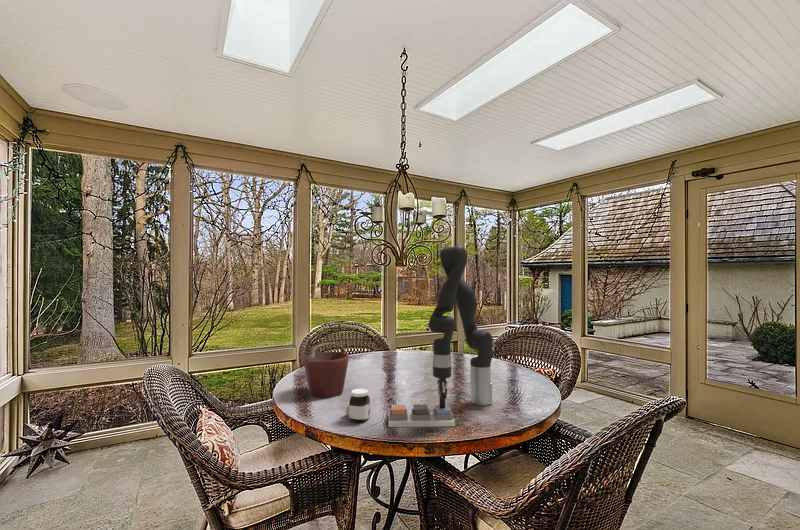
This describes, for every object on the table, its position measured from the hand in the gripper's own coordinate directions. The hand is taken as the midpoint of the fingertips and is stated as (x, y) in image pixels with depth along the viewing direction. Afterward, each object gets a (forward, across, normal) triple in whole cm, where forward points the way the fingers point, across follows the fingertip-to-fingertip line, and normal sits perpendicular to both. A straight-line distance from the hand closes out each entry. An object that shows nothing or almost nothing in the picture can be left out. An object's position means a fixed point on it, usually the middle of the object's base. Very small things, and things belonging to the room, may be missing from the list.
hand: (442, 407), depth 156 cm
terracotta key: (+2, 0, +18) cm, 18 cm away
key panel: (+6, 0, +9) cm, 10 cm away
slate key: (+2, 0, 0) cm, 2 cm away
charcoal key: (+2, 0, +9) cm, 9 cm away
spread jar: (+6, +5, +35) cm, 36 cm away
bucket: (+6, +39, +54) cm, 67 cm away
